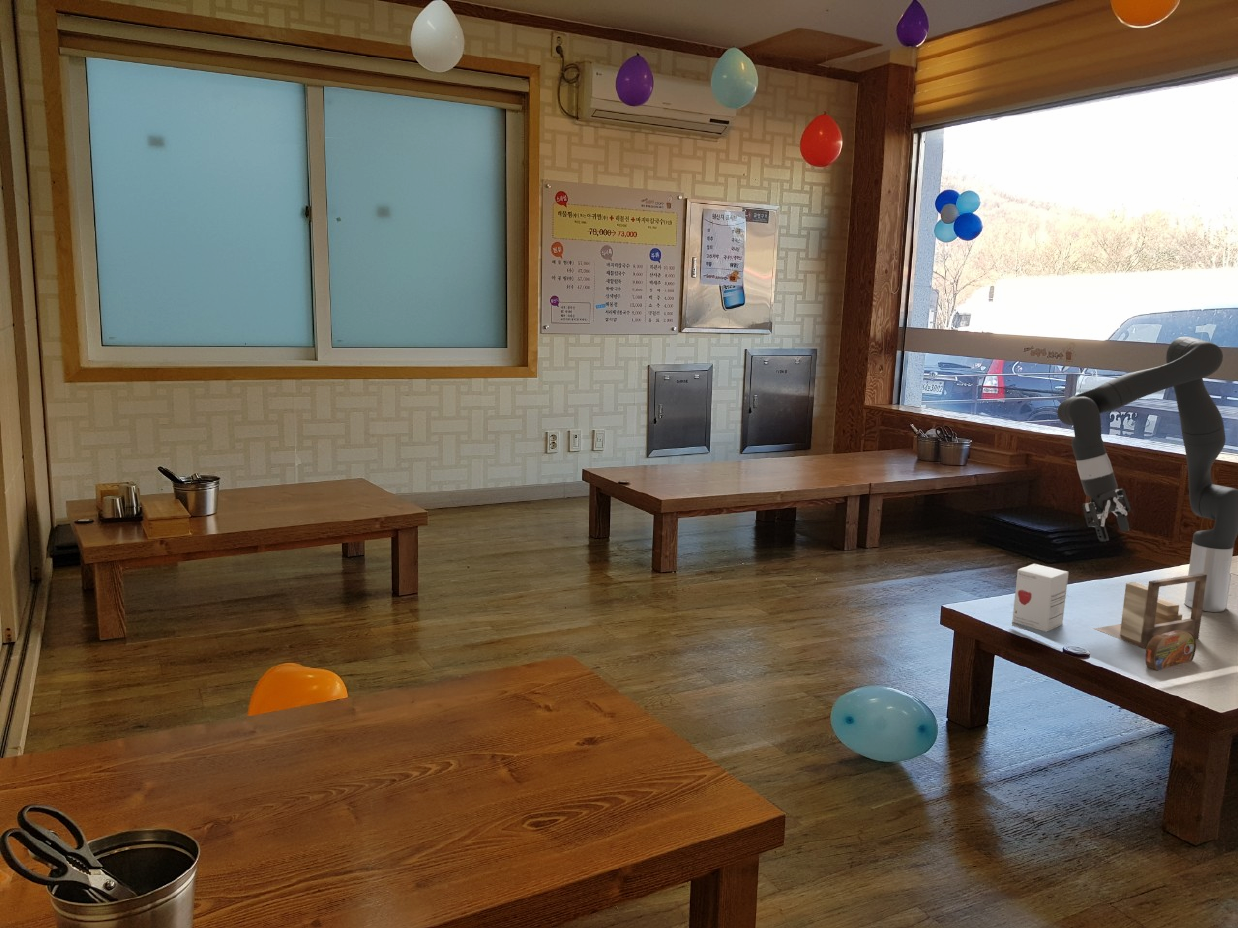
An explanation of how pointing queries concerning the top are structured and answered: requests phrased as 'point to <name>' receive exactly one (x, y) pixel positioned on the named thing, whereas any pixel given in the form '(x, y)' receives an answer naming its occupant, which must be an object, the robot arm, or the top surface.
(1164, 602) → the offcut top
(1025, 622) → the supplement box
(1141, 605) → the pale wooden block
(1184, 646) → the tin
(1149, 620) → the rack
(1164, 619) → the offcut mid
